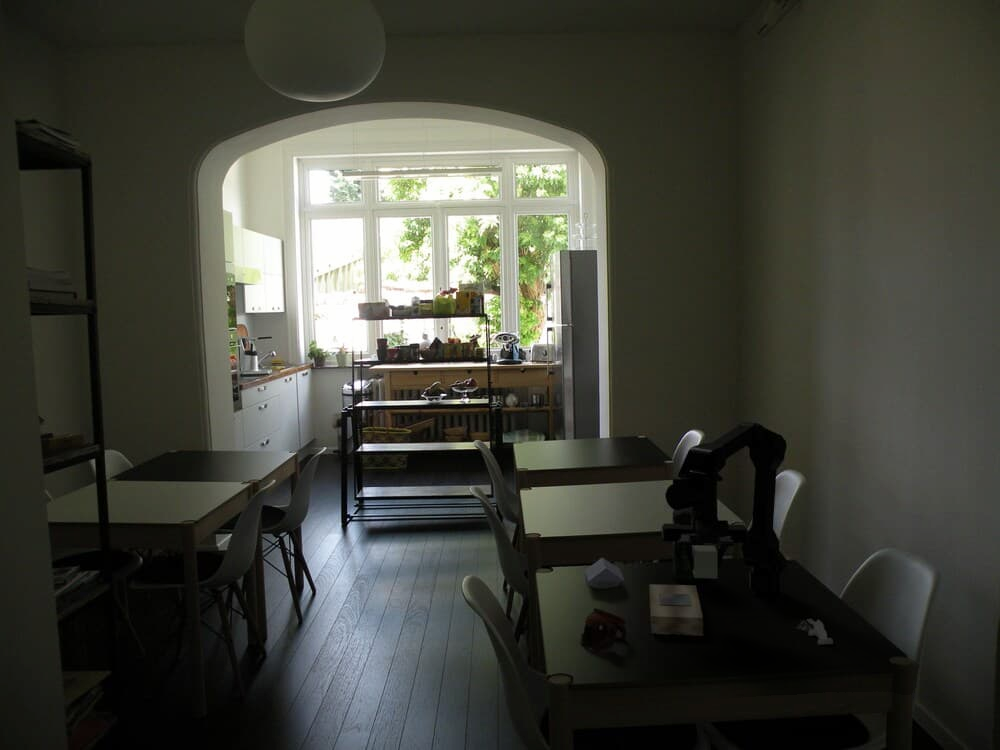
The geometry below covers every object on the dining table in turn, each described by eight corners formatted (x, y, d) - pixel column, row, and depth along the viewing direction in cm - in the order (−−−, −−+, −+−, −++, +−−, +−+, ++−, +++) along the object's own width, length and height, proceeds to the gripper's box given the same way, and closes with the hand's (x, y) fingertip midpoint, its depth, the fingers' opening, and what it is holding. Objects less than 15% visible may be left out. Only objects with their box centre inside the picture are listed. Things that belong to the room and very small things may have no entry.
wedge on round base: (624, 593, 199) (617, 576, 212) (624, 567, 199) (617, 551, 212) (588, 594, 200) (584, 577, 212) (587, 568, 199) (583, 552, 212)
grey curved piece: (843, 647, 166) (843, 626, 165) (812, 649, 165) (812, 628, 165) (813, 619, 181) (813, 600, 180) (784, 621, 180) (784, 601, 180)
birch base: (695, 601, 192) (695, 584, 192) (703, 635, 173) (703, 616, 172) (649, 600, 194) (649, 583, 194) (651, 633, 175) (651, 615, 174)
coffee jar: (706, 583, 205) (705, 512, 203) (674, 582, 206) (673, 512, 204) (701, 570, 214) (700, 502, 213) (671, 570, 215) (670, 502, 214)
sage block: (714, 571, 183) (714, 545, 183) (717, 578, 178) (717, 552, 178) (692, 570, 184) (692, 545, 183) (694, 577, 179) (694, 551, 178)
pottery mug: (571, 640, 174) (584, 603, 176) (610, 655, 175) (621, 618, 177) (590, 648, 162) (603, 609, 165) (631, 664, 164) (643, 625, 166)
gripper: (664, 510, 173) (665, 580, 174) (753, 511, 171) (753, 583, 172) (661, 499, 184) (661, 564, 185) (744, 499, 182) (744, 566, 183)
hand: (704, 570), depth 181 cm, fingers closed on sage block, 5 cm apart
